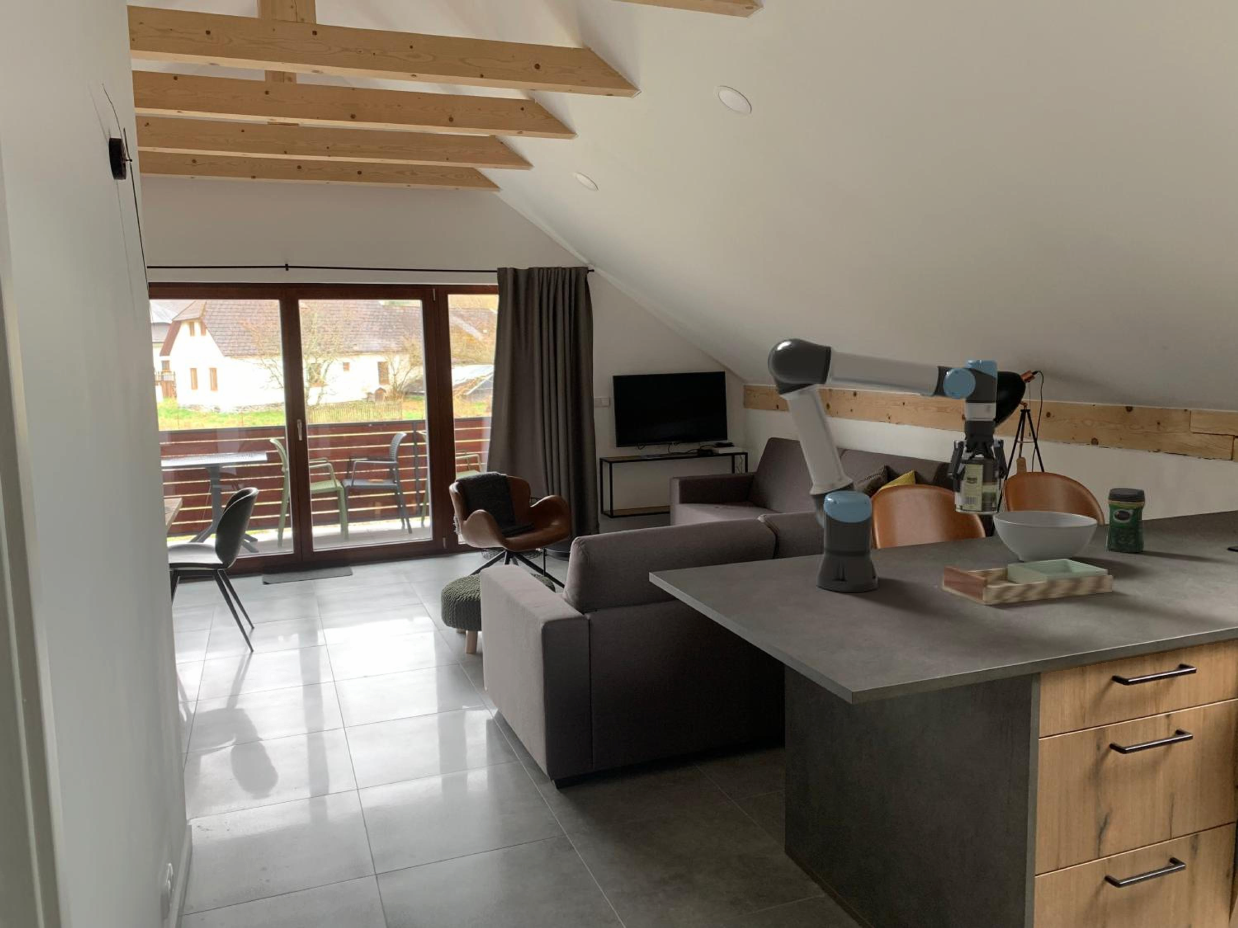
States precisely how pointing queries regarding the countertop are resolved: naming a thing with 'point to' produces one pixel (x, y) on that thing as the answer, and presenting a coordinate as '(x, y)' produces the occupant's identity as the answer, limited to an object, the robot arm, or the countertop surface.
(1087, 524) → the decorative bowl
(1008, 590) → the bay
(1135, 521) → the coffee jar
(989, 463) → the coffee can
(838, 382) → the robot arm
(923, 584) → the countertop surface
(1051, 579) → the mint green tray
